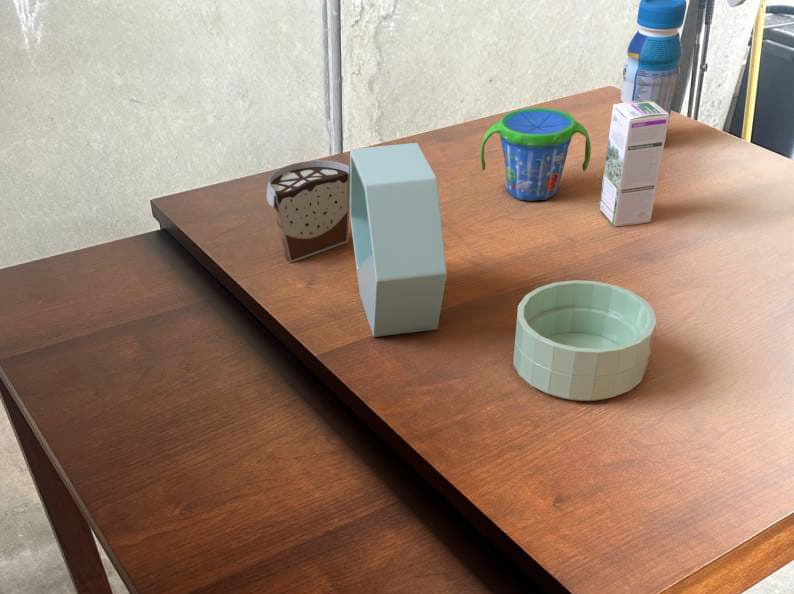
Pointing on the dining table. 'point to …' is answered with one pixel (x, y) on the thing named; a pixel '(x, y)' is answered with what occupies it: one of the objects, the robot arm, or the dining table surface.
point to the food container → (310, 206)
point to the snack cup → (535, 150)
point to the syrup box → (633, 162)
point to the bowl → (583, 339)
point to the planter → (397, 238)
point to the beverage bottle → (654, 54)
